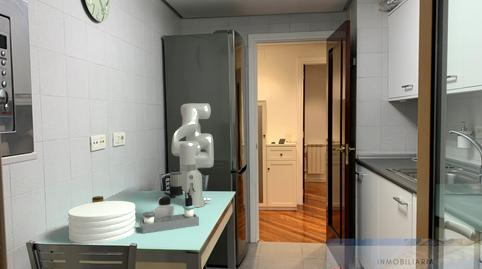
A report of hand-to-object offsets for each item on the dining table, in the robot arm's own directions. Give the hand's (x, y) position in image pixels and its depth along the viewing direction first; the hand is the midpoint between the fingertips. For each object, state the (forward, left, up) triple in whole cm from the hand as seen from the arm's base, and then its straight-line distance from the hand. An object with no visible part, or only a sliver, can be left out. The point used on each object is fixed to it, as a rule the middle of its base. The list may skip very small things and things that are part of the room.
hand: (188, 205), depth 167 cm
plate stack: (+38, -6, -9) cm, 40 cm away
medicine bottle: (+9, -11, -9) cm, 17 cm away
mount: (+9, 0, -9) cm, 13 cm away
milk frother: (-10, -67, -9) cm, 68 cm away
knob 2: (0, 0, -7) cm, 7 cm away
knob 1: (+19, 0, -8) cm, 21 cm away
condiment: (+38, -29, -9) cm, 49 cm away
